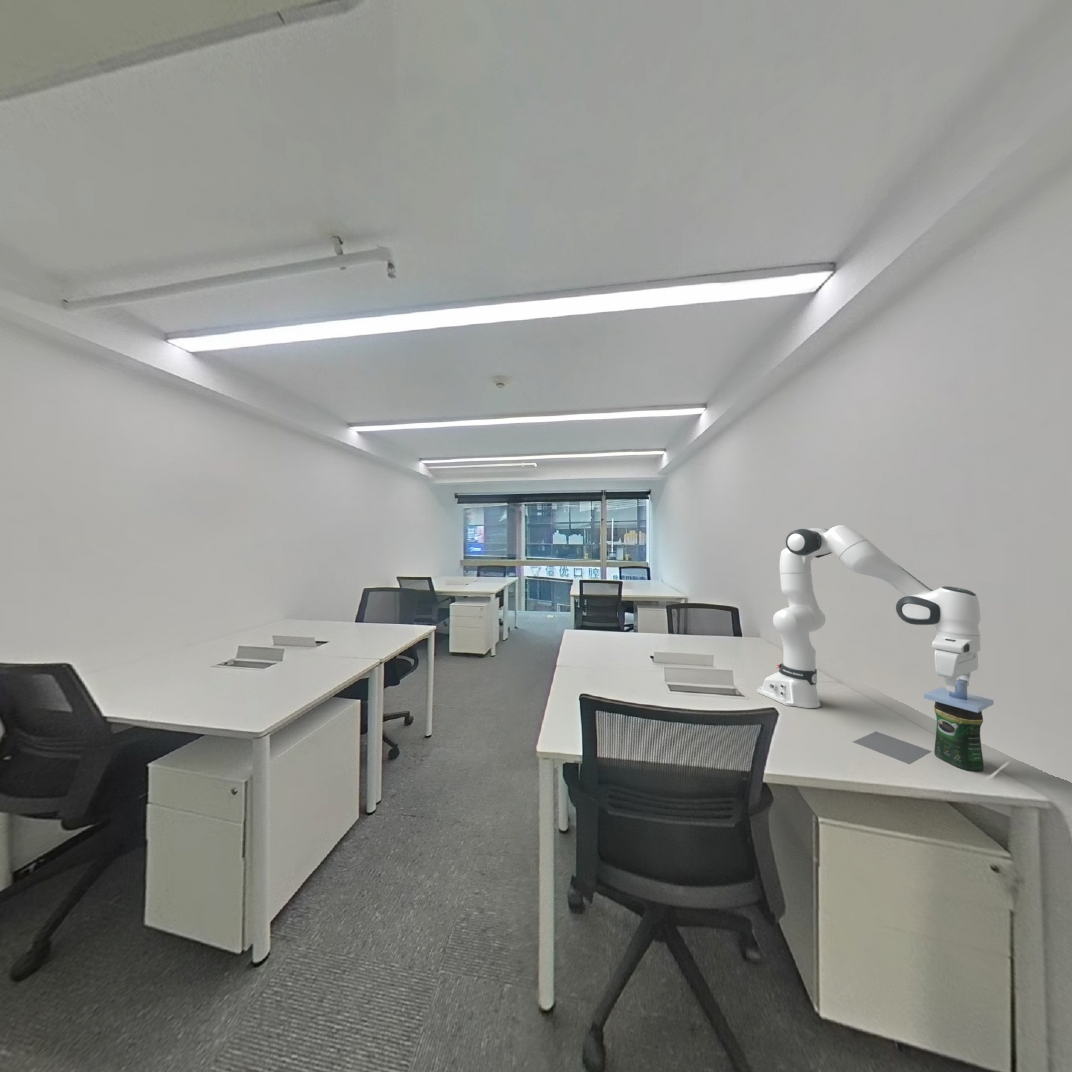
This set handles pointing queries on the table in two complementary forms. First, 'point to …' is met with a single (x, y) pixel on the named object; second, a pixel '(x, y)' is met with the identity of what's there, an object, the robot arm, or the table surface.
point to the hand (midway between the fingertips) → (957, 688)
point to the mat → (892, 747)
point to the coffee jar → (958, 737)
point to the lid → (959, 698)
